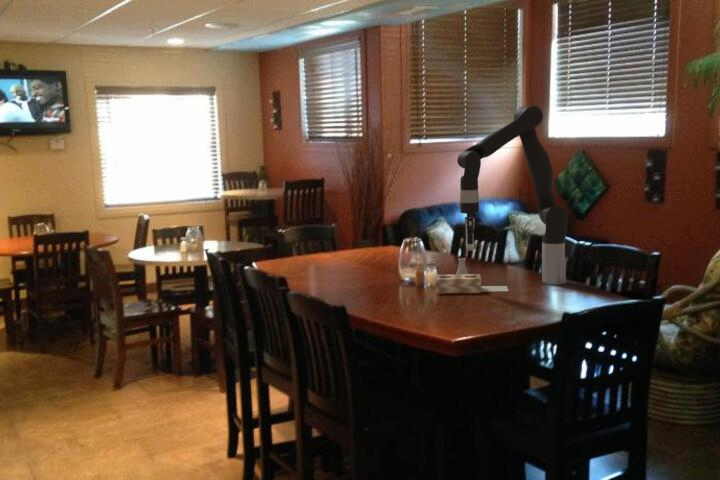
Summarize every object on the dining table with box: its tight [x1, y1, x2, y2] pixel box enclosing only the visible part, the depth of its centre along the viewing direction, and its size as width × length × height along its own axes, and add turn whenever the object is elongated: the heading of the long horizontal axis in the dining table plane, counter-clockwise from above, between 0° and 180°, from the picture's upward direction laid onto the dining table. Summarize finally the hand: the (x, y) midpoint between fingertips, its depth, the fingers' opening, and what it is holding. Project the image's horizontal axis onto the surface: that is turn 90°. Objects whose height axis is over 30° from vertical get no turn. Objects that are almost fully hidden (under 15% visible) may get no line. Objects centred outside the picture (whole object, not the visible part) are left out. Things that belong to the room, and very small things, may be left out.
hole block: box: [435, 273, 482, 295], centre depth 293 cm, size 18×10×6 cm, turn 83°
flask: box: [456, 257, 469, 274], centre depth 312 cm, size 7×7×10 cm
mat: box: [481, 285, 509, 293], centre depth 294 cm, size 12×10×1 cm
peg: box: [465, 228, 475, 252], centre depth 290 cm, size 3×3×10 cm
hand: (470, 243), depth 290 cm, fingers closed on peg, 3 cm apart
